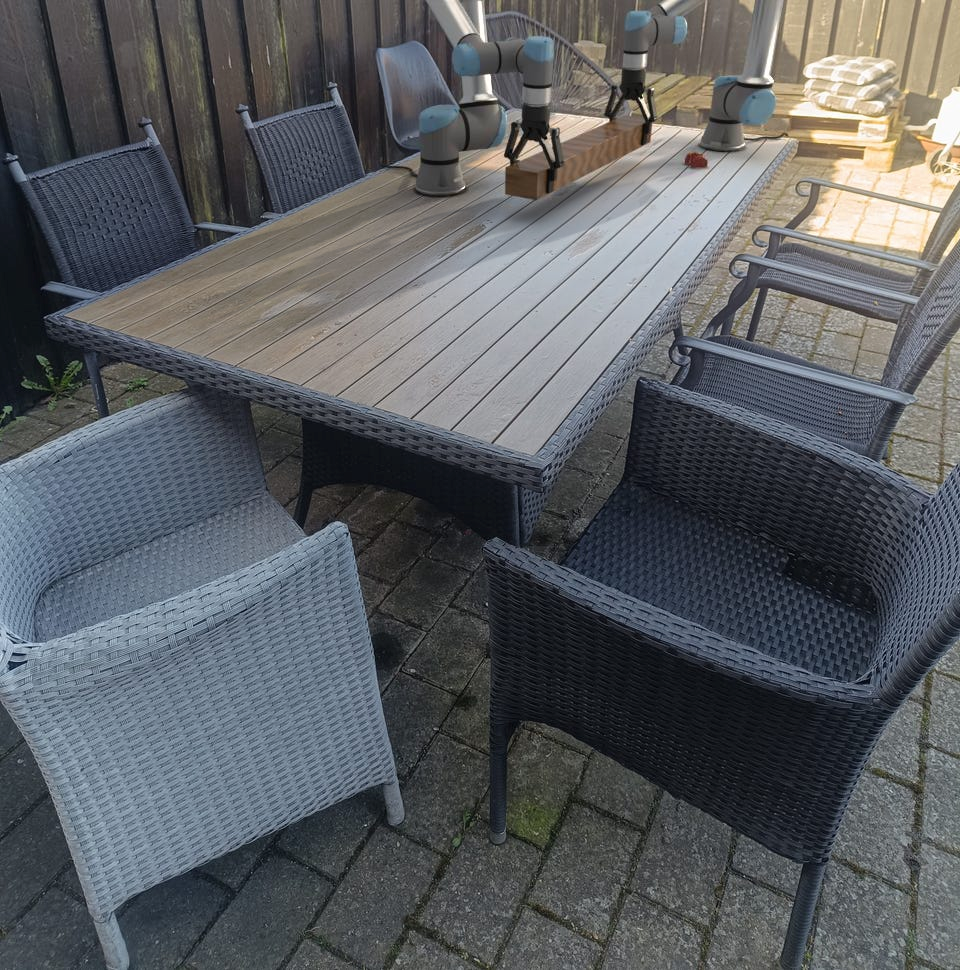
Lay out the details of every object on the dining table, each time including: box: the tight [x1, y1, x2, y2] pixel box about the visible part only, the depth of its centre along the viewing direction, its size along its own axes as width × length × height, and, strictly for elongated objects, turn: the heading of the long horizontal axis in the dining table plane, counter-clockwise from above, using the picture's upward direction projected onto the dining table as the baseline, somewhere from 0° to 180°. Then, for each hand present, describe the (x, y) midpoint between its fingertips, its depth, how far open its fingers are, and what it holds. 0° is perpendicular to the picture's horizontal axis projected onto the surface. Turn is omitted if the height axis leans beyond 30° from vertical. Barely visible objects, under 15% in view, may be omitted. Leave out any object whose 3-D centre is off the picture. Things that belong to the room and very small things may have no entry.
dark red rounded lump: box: [683, 151, 709, 169], centre depth 279 cm, size 6×4×8 cm
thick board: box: [504, 114, 654, 201], centre depth 254 cm, size 75×10×7 cm, turn 147°
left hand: (532, 188), depth 234 cm, fingers closed on thick board, 10 cm apart
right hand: (628, 141), depth 276 cm, fingers closed on thick board, 10 cm apart
